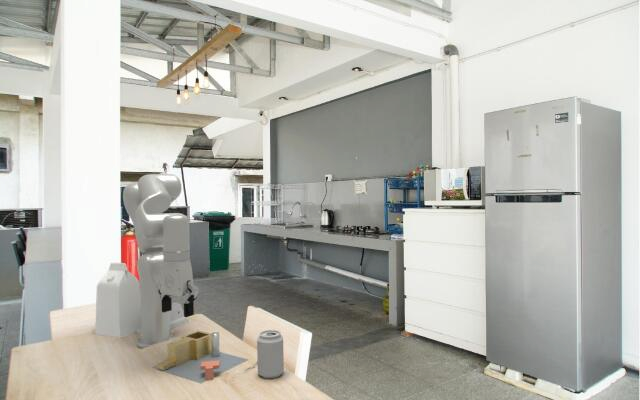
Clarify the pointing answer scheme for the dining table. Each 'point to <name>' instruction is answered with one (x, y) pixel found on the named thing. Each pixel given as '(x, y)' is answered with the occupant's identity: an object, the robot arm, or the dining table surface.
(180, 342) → the link
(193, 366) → the base plate
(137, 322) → the milk
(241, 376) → the dining table surface
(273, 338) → the can
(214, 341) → the cylinder
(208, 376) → the pink t-shaped block
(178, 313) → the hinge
